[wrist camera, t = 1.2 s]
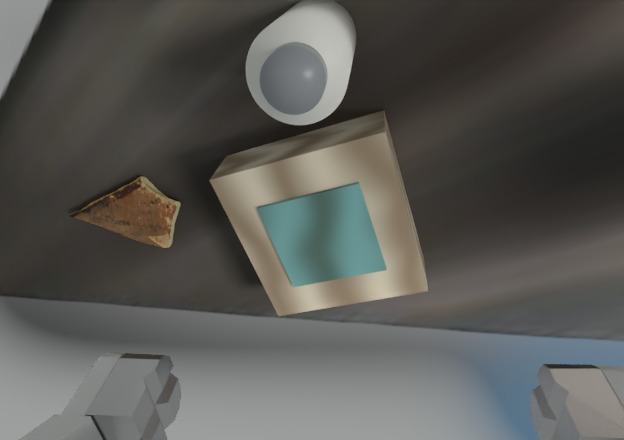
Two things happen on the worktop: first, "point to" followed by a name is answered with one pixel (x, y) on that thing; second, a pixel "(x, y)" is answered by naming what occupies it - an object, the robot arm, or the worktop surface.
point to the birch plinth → (325, 216)
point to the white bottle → (303, 62)
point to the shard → (135, 213)
